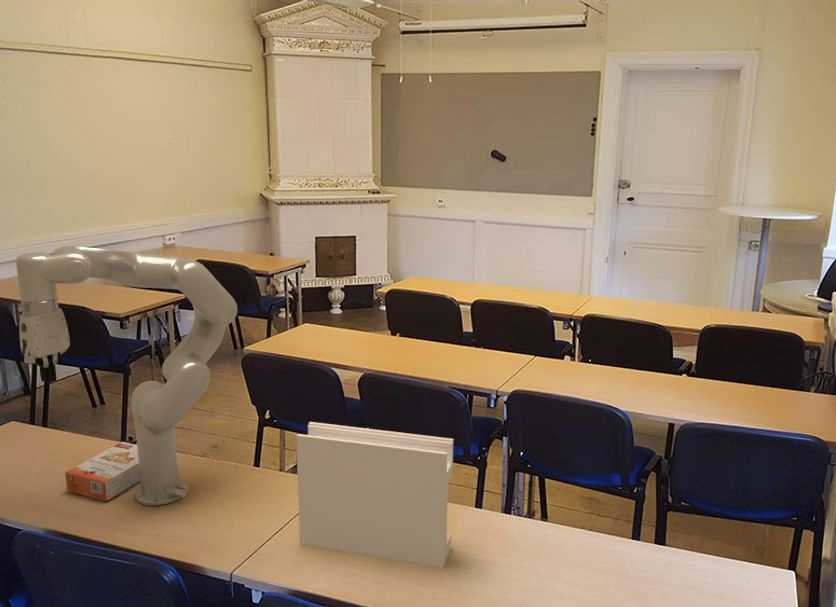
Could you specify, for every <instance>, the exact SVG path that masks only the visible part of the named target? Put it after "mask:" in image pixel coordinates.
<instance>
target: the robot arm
mask: <svg viewBox="0 0 836 607" xmlns="http://www.w3.org/2000/svg"><path fill="white" fill-rule="evenodd" d="M15 265H16V273H17V280H18V281H17V282H18V290H19V297H20V304H21V305H20V306H18V307H17V310H18V312H19V313H22V314H20V315H19V316H20V317H19V343H20V344H19V346H20V350H21V354H22V356H24V358H23V359H24V360H23V361H24V363H25V364H35V365H36V366H37V367H39V374H40V375H39V376H40V380H41V381H42V382H44V383H49V384H51V383H53V382H57V369H56V368H57V367H56V365H57V364H58V359H59V358H60V356H61V355H62V354H64V353H65V352H67V350H68V349H69V347H70V346H71V344H70V342H71V341H70V333H69V330H68V324H67V320H66V318H65V315H64V314H65V313H64V312H63V310H62V308H59V302H58V291H57V284H61V285H62V284H63V285H64V284H65V285H66V284H67V285H75V284H80V283H83V282H86V281H87V280H88V279H89V278H93V279H94V278H95V279H102V280H107V281H112V282H114V283H118V284H121V285H124V286H128V287H132V288H151V289H164V290H165V289H166V290H167V289H168V290H177V291H180V292H181V293H182V294H183V295H184V296H185V297H186V298H187V299H188V300H189V302H190V303H191V304H192V308H193V312H194V321H193V324H192V327H191V328H190V330H189V332H188V333H187V334H186V335H185V336H184V338H183V339H182V340H181V341H180V342H179V343H178V345H177V346H176V347H175V348H174V350H172V352H171V353H170V354H169V355H168V356H167V357H166V359H165V360H164V362H163V363H162V367H161V371H162V375H163V377H164V379H165V380H166V382H165V383H164V384H163V383H162V382H159V381H157V380H147V381H144V382H141V383H139V385H137V386H136V387H135V389H134V390H133V392H132V395H131V399H130V406H131V412H132V413H131V414H132V416H133V423H134V428H135V429H134V430H135V438H136V445H137V450H138V460H139V471H140V482H141V483H140V487H139V488H138V489H137V490H136V491H135V494H134V495H135V500H136V502H137V503H139V504H142V505H144V506H151V507H153V506H154V507H155V506H164V505H168V504H171V503H173V502H175V501H176V502H177V500H179V499H180V498H185V497H186V496H187V492H188V491H189V489H190V488H189V485H185V484H184V482H182V477H179V473H178V472H179V471H178V460H177V459H178V457H177V446H176V434H175V433H176V432H175V426H176V425H177V424H179V422H181V421H182V419H183V418H184V417H185V415H186V414H187V413H188V412H190V410H191V409H192V407H193V406H194V405H195V404H196V403H197V402H198V400H199V399H200V398H201V397H202V395H203V394H204V393H205V391H206V390H207V389H208V386H209V384H210V380H211V373H210V368H209V366H208V365H207V363H208V361H209V360H210V359H211V357H212V356H213V355H214V354H215V352H216V351H217V349H218V348H219V346H220V345H221V343H222V341H223V339H224V335H225V332H226V326H228V325H230V324H231V323H232V322H233V321H234V320H235V319H236V317H237V314H238V304H237V302H236V301H235V300H236V299H235V298H234V297H233V296H232V295H231V294H230V293H229V292H228V291H227V290H226V289H225V287H224V286H222V284H221V283H220V282H219V281H218V279H217V278H215V276H214V275H213V274H212V273H211V272H210V271H209V269H207V267H205V266H204V264H202V263H200V262H199V261H197V260H195V259H193V258H190V257H186V256H181V255H171V254H158V253H157V254H156V253H147V252H145V253H144V252H135V251H134V252H133V251H126V250H113V249H106V248H98V247H97V248H96V247H86V246H77V245H76V246H74V245H67V246H61V247H58V248H57V249H55V250H54V251H53V252H52V253H51V254H49V253H47V252H29V253H22V254H20V255H18V256H17V258H16V260H15Z"/></svg>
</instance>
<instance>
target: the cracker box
mask: <svg viewBox="0 0 836 607" xmlns="http://www.w3.org/2000/svg"><path fill="white" fill-rule="evenodd" d="M64 474H65V482H66V484H65V485H66V490H67V491H69V492H72V493H75V494H79V495H83V496H86V497H90V498H92V499H96V500H99V501H104V502H108V501H110V500H112V499H113V498H114V497H116V496H119V495H118V494H119V493H121V492H123V491H124V490H126V489H128V488H129V487H131V486H132V485H134V484H136V483H137V482H139V481H140V471H139V460H138V450H137V444H133V443H129V442H125V441H121V442H119V443H117V444H116V445H114V446H112V447H110V448H108V449H106V450H104V451H103V452H100V453H99V454H97V455H95V456H93V457H91V458H89V459H87V460H85V461H84V462H81V463H80V464H78V465H76V466H74V467H72V468H71V469H69V470H67V471H65V473H64Z"/></svg>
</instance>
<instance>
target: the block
mask: <svg viewBox="0 0 836 607" xmlns="http://www.w3.org/2000/svg"><path fill="white" fill-rule="evenodd" d="M295 437H296V463H297V464H296V466H297V467H296V470H297V496H298V500H297V501H298V522H299V524H298V525H299V544H300V545H304V546H308V547H315V548H320V549H327V550H334V551H340V552H346V553H351V554H357V555H359V554H360V555H364V556H370V557H375V558H381V559H389V560H393V561H401V562H406V563H412V564H417V565H418V564H419V565H425V566H431V567H438V568H444V567H445V565H446V563H447V559H448V556H449V554H450V551H451V548H452V534H450V533H449V534H448V532H447V531H448V491H449V484H450V481H451V479H452V476H453V475H454V469H453V466H454V438H450V437H440V436H431V435H423V434H415V433H406V432H398V431H391V430H382V429H375V428H374V429H373V428H366V427H365V428H364V427H356V426H349V425H339V424H330V423H324V422H314V421H309V422H308V425H307V434H302V433H297V434H296V435H295Z"/></svg>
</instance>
